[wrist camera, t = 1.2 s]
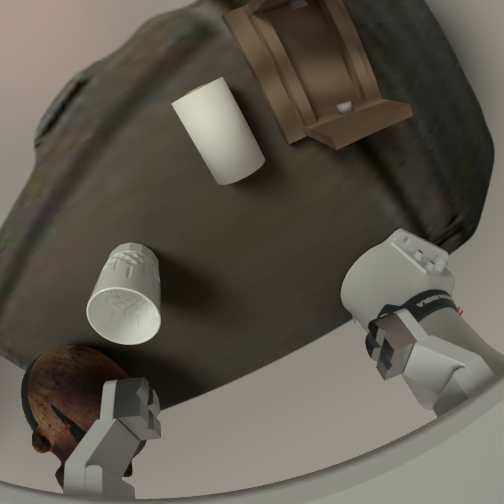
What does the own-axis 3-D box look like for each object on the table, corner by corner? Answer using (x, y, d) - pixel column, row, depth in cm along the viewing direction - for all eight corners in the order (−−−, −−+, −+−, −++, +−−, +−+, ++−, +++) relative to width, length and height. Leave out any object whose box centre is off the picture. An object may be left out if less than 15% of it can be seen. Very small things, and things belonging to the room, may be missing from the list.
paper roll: (258, 153, 33) (271, 165, 29) (215, 176, 34) (220, 192, 29) (218, 76, 28) (225, 74, 23) (171, 101, 28) (168, 103, 24)
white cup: (100, 238, 34) (78, 287, 26) (162, 236, 36) (157, 287, 27) (109, 290, 38) (96, 344, 30) (165, 289, 40) (164, 344, 31)
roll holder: (376, 101, 32) (427, 112, 24) (285, 141, 33) (318, 162, 25) (326, -16, 23) (369, -38, 15) (221, 17, 24) (235, -9, 16)
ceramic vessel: (25, 351, 41) (-11, 504, 15) (63, 298, 37) (10, 503, 12) (118, 403, 51) (118, 543, 26) (171, 365, 48) (187, 542, 22)
